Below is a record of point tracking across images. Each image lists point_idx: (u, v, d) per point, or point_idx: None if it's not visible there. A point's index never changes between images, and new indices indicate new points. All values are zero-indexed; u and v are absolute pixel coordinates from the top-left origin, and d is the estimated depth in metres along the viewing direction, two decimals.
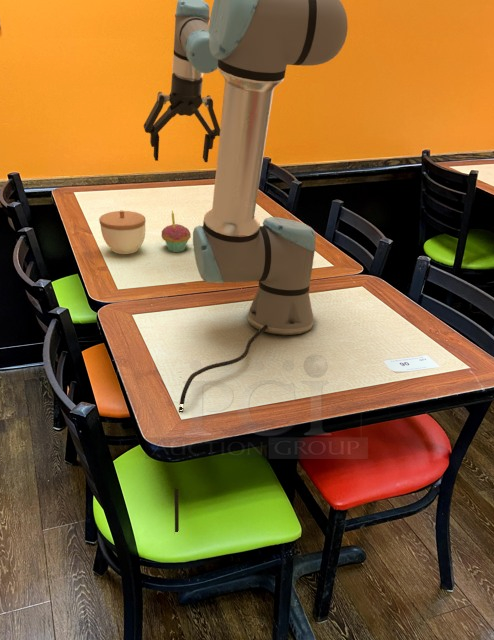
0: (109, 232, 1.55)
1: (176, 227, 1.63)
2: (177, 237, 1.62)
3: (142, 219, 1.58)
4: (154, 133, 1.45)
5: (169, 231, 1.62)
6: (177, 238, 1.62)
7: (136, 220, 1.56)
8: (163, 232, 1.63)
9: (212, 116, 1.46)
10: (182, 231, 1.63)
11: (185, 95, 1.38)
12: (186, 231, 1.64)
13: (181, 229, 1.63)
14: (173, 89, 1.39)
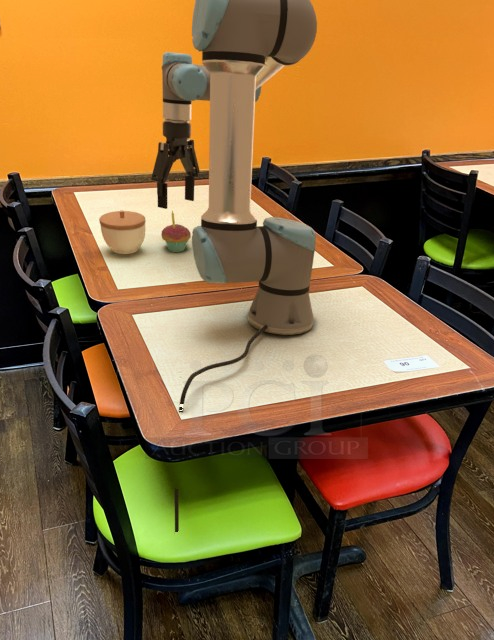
0: (109, 232, 1.55)
1: (176, 227, 1.63)
2: (177, 237, 1.62)
3: (142, 219, 1.58)
4: (164, 181, 1.51)
5: (169, 231, 1.62)
6: (177, 238, 1.62)
7: (136, 220, 1.56)
8: (163, 232, 1.63)
9: (194, 155, 1.60)
10: (182, 231, 1.63)
11: (186, 137, 1.50)
12: (186, 231, 1.64)
13: (181, 229, 1.63)
14: (173, 135, 1.49)
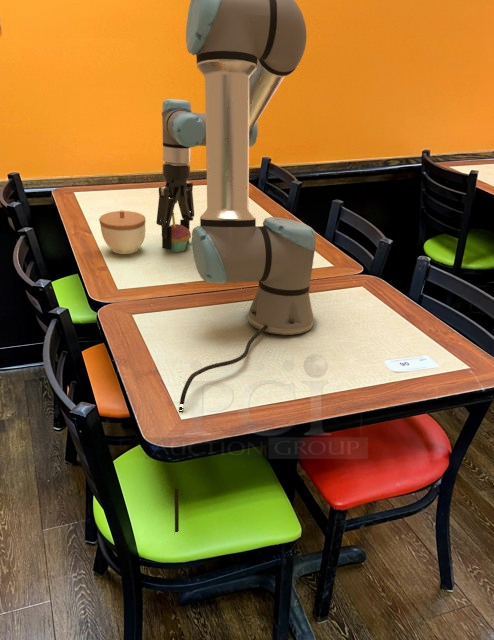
0: (109, 232, 1.55)
1: (176, 227, 1.63)
2: (177, 236, 1.62)
3: (142, 219, 1.58)
4: (168, 224, 1.59)
5: None
6: (177, 238, 1.62)
7: (136, 220, 1.56)
8: None
9: (191, 198, 1.65)
10: (182, 231, 1.63)
11: (185, 178, 1.55)
12: (186, 231, 1.64)
13: (181, 229, 1.63)
14: (173, 177, 1.54)
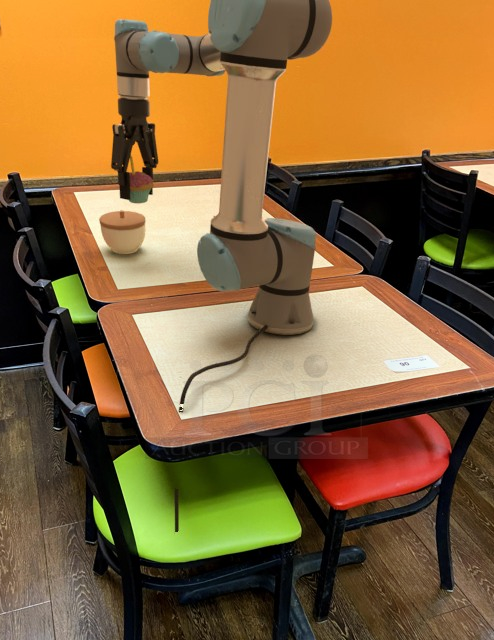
0: (109, 232, 1.55)
1: (136, 174, 1.43)
2: (136, 184, 1.42)
3: (142, 219, 1.58)
4: (125, 169, 1.39)
5: None
6: (136, 186, 1.42)
7: (136, 220, 1.56)
8: None
9: (153, 142, 1.45)
10: (143, 178, 1.43)
11: (143, 115, 1.35)
12: (148, 178, 1.44)
13: (142, 176, 1.43)
14: (128, 113, 1.34)
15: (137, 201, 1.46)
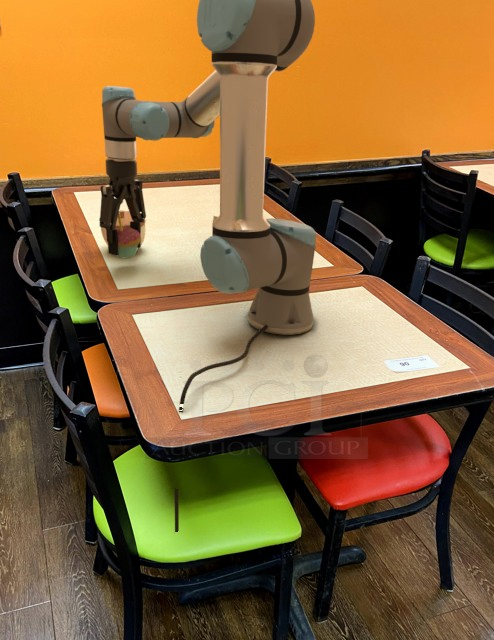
0: None
1: (124, 230, 1.47)
2: (124, 241, 1.45)
3: None
4: (113, 227, 1.42)
5: None
6: (124, 242, 1.45)
7: None
8: None
9: (141, 198, 1.48)
10: (130, 234, 1.46)
11: (130, 176, 1.38)
12: (135, 234, 1.47)
13: (129, 232, 1.46)
14: (116, 174, 1.37)
15: (125, 256, 1.49)
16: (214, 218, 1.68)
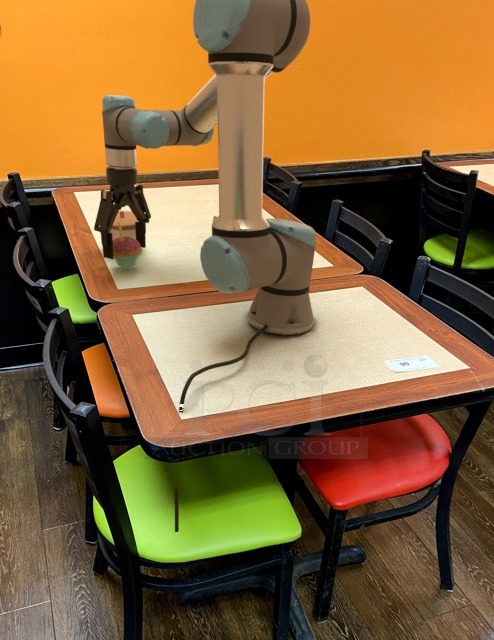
0: None
1: (124, 240, 1.48)
2: (125, 251, 1.47)
3: None
4: (108, 231, 1.40)
5: (117, 244, 1.47)
6: (125, 252, 1.47)
7: (136, 220, 1.56)
8: None
9: (143, 201, 1.49)
10: (131, 244, 1.47)
11: (131, 183, 1.39)
12: (136, 244, 1.49)
13: (130, 242, 1.48)
14: (117, 182, 1.38)
15: (125, 265, 1.50)
16: (214, 218, 1.68)
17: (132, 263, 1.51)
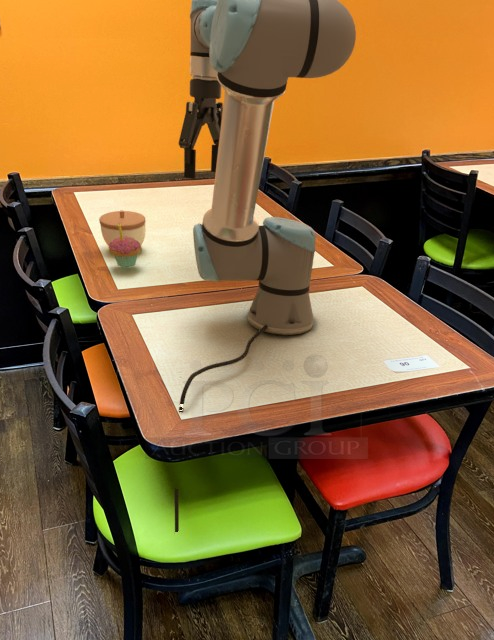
0: (109, 232, 1.55)
1: (124, 240, 1.48)
2: (125, 251, 1.47)
3: (142, 219, 1.58)
4: (192, 146, 1.34)
5: (117, 244, 1.47)
6: (125, 252, 1.47)
7: (136, 220, 1.56)
8: (110, 246, 1.48)
9: None
10: (131, 244, 1.47)
11: (216, 96, 1.33)
12: (136, 244, 1.49)
13: (130, 242, 1.48)
14: (202, 94, 1.32)
15: (125, 265, 1.50)
16: None
17: (132, 263, 1.51)
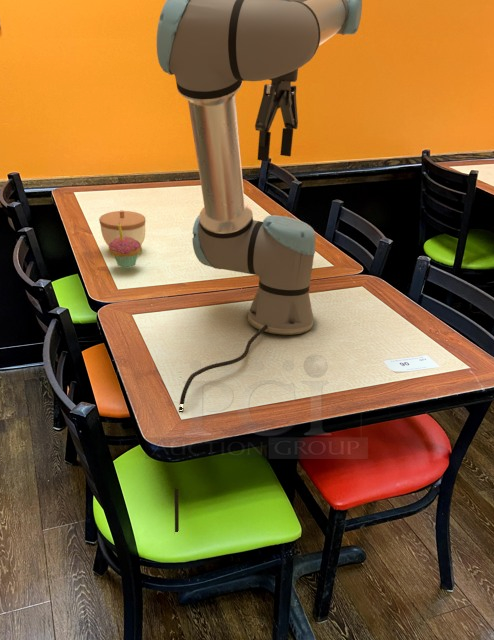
0: (109, 232, 1.55)
1: (124, 240, 1.48)
2: (125, 251, 1.47)
3: (142, 219, 1.58)
4: (268, 129, 1.36)
5: (117, 244, 1.47)
6: (125, 252, 1.47)
7: (136, 220, 1.56)
8: (110, 246, 1.48)
9: (295, 104, 1.45)
10: (131, 244, 1.47)
11: (293, 79, 1.34)
12: (136, 244, 1.49)
13: (130, 242, 1.48)
14: (280, 76, 1.33)
15: (125, 265, 1.50)
16: None
17: (132, 263, 1.51)
